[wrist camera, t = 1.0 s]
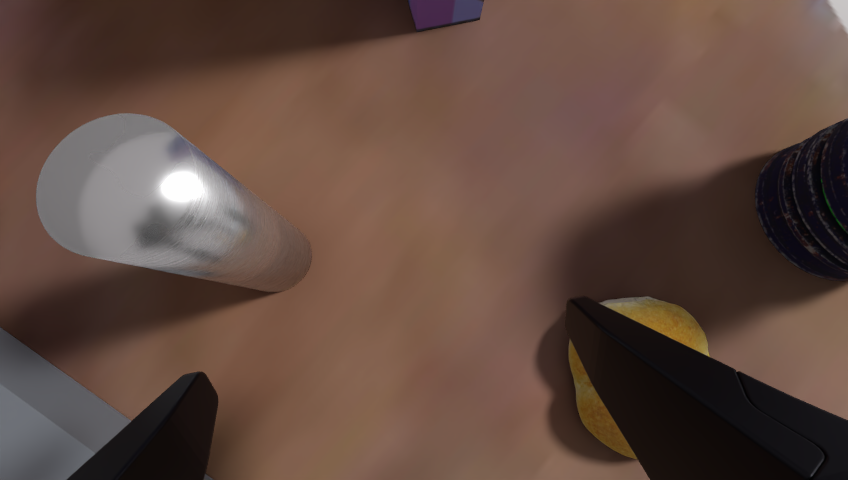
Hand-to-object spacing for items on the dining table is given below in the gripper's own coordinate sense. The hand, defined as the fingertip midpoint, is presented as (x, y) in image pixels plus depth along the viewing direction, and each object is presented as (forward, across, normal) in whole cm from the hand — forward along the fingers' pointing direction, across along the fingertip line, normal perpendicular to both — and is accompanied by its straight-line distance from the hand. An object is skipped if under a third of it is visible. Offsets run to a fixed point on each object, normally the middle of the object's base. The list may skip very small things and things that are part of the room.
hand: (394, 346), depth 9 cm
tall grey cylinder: (+14, +7, +5) cm, 17 cm away
